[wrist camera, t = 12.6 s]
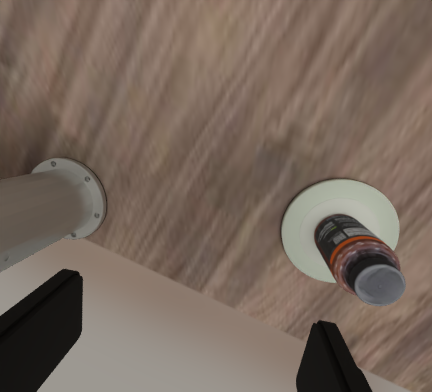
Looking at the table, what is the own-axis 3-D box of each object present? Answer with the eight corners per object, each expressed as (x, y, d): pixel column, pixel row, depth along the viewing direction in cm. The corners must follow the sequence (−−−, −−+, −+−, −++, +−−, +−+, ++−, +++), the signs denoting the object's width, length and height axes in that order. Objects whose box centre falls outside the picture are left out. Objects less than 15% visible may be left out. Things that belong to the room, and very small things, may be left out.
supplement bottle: (350, 261, 32) (397, 327, 22) (305, 246, 33) (330, 303, 22) (371, 221, 31) (434, 269, 20) (323, 205, 31) (360, 245, 20)
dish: (317, 293, 36) (320, 300, 34) (260, 217, 34) (260, 221, 33) (414, 243, 32) (422, 248, 31) (354, 155, 31) (360, 157, 29)
